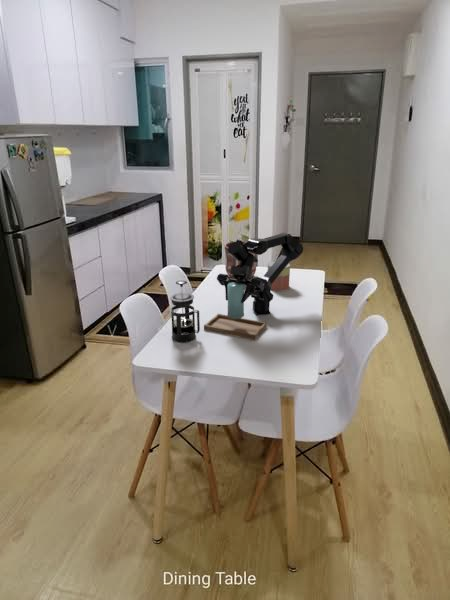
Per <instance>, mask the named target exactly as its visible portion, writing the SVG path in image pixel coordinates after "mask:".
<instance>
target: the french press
mask: <svg viewBox="0 0 450 600" xmlns="http://www.w3.org/2000/svg"><path fill="white" fill-rule="evenodd" d="M187 283H188V281H187V280H177V281H176V282H175V284H176V285H179V286H180V290H181V291H180V292H178V293H177V292H176V293H174V294H172V295H170V297H169V299H170V300H171V304H172V305H173V306H172V307H171V308H170V314H171V339H172V340H173V341H174V342H176V343H183V344H184V343H190V342H192V341H195V339H196V338H197V334H199V333H200V331H201V328H200V327H201V326H200V310H198V309H195V306H193V305H192V304H194V299H195V296H194V294H192V293H190V292H189V293H188V292H183V286H184V285H187ZM177 309H181V313H179V312H174V311H175V310H177ZM190 310H192V311H190ZM195 313H196V316H195ZM190 316H192V317H191V318H190ZM175 317H176V318H175ZM195 318H197V319H195ZM196 321H197V322H196ZM195 322H196V323H197V327H196V324H195ZM196 328H197V329H196ZM184 333H185V334H184Z"/></svg>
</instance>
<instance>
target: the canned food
mask: <svg viewBox="0 0 450 600" xmlns="http://www.w3.org/2000/svg"><path fill="white" fill-rule="evenodd" d="M275 262H276V260H275V261H271V262H268V263H267V271H268V270H269V269H270V268H271V266H272V265H273V264H274V263H275ZM290 274H291V264H290V262H289V263H288V265H287V266H286V267H285V268H284V269H283V271H282V272H281V273H280V274H279V276H278V277H277V278H276V279H275V280H274V282H273V283H272V285H271V291H274V292H282V291H287V290H289V289H290Z"/></svg>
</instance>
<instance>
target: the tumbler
mask: <svg viewBox="0 0 450 600" xmlns="http://www.w3.org/2000/svg"><path fill="white" fill-rule="evenodd" d="M227 289H228V300H227V315H228V317H229V318H232V319H239V318H244V317H245V314H244V312H245V311H244V308H245V302H244V303H242V302H241V301H242V298H243V295H244V292H245V285H244V284H242V283H239V282H233V283H229V284H228V285H227Z"/></svg>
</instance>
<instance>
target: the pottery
mask: <svg viewBox="0 0 450 600" xmlns="http://www.w3.org/2000/svg"><path fill="white" fill-rule="evenodd" d="M236 241H237V240H236ZM236 241H235V240H234V241H231V242H230V241H229V242H227V243H225V244H224V253H225V272H226V274H227V275H228V276H229V278H233V279H234V277H233V276H232V275H233V274H230V270H231V266H237V265H239V262H240V261H237V260H236V259H235V258H234V257H233V256H232V255H231V254H229V252H228V247H229V246H230V245H231V244H232V243H234V242H236ZM241 241H242V242H243V244H244V243H246V242H247V241H243V240H241ZM249 253H250V252H249ZM251 254H253V255H254V256H256V257H257V255H258V254H254V253H251ZM256 271H257V262H254V264H253V267H252V271H251V272H252V275H250V277H249V280H250V279H252V278H253V277H254V276H255V274H256Z"/></svg>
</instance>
